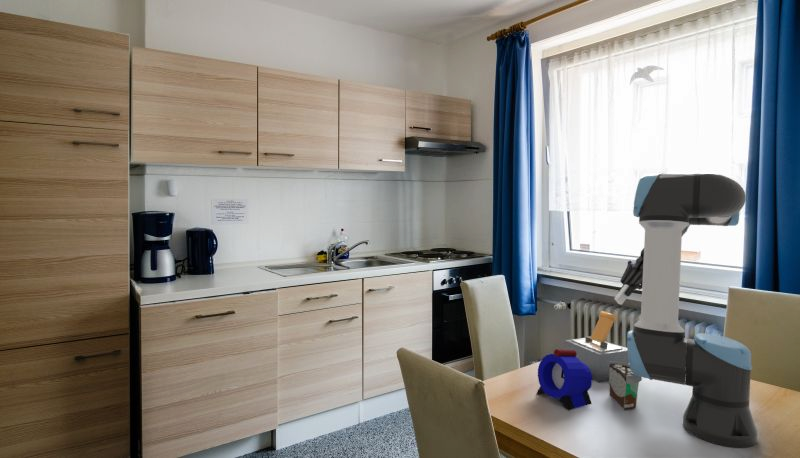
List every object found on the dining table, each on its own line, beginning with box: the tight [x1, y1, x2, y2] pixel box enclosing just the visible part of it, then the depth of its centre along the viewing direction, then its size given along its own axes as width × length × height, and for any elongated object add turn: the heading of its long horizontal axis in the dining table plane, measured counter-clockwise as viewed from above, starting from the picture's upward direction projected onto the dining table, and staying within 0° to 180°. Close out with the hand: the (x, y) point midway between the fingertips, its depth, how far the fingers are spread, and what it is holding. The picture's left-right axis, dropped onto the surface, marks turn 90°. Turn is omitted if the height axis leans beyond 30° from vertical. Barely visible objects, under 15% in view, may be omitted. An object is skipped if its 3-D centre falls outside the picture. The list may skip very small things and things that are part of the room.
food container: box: [608, 361, 643, 411], centre depth 133 cm, size 12×6×10 cm, turn 179°
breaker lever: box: [590, 310, 618, 343], centre depth 157 cm, size 2×6×10 cm, turn 21°
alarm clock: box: [536, 348, 593, 411], centre depth 136 cm, size 12×12×15 cm
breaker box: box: [564, 335, 629, 384], centre depth 157 cm, size 12×16×11 cm
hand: (617, 301), depth 159 cm, fingers closed
